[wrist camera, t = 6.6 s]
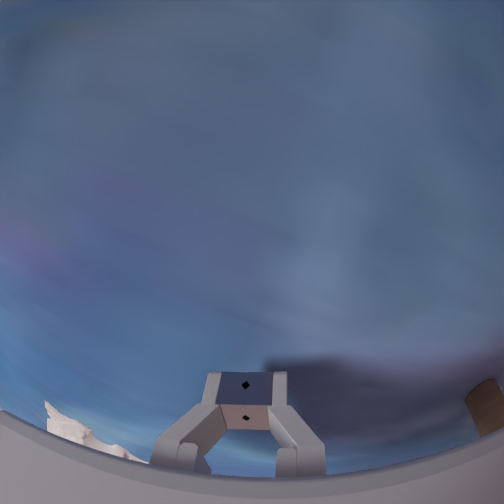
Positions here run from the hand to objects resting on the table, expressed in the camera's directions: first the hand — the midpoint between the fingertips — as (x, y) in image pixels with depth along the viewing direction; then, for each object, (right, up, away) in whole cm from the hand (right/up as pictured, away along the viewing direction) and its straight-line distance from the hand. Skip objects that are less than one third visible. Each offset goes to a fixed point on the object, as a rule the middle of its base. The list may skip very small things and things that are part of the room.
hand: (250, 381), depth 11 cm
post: (+16, -4, +3) cm, 16 cm away
